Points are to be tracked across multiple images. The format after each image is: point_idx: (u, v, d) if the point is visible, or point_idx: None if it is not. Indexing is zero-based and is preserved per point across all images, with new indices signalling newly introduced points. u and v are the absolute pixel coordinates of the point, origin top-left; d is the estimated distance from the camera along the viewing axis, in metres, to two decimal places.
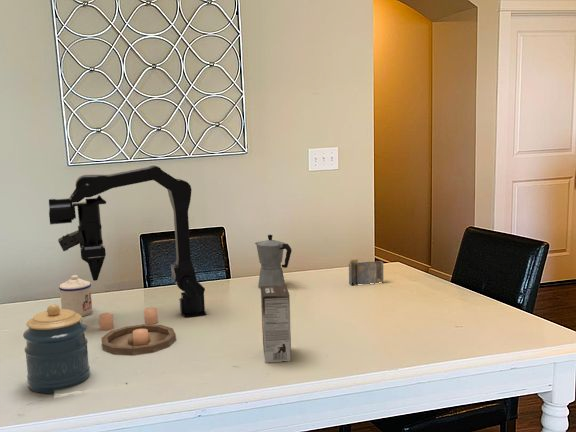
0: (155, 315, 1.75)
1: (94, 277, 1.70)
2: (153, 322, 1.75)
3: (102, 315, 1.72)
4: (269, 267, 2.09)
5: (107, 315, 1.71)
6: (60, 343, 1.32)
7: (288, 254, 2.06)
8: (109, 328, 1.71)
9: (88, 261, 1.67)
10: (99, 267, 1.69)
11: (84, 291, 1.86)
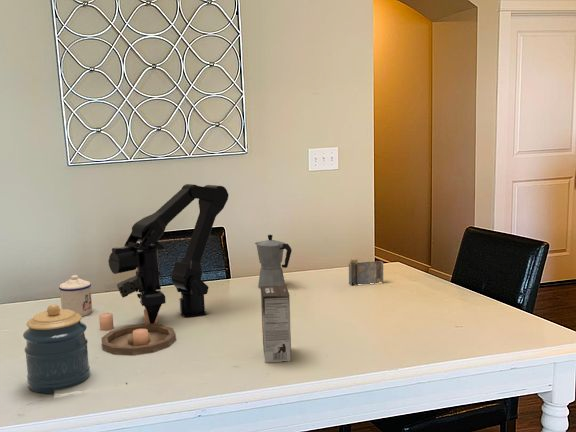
0: None
1: (151, 320, 1.74)
2: None
3: (102, 315, 1.72)
4: (269, 267, 2.09)
5: (107, 315, 1.71)
6: (60, 343, 1.32)
7: (288, 254, 2.06)
8: (109, 328, 1.71)
9: (146, 305, 1.71)
10: (156, 311, 1.73)
11: (84, 291, 1.86)
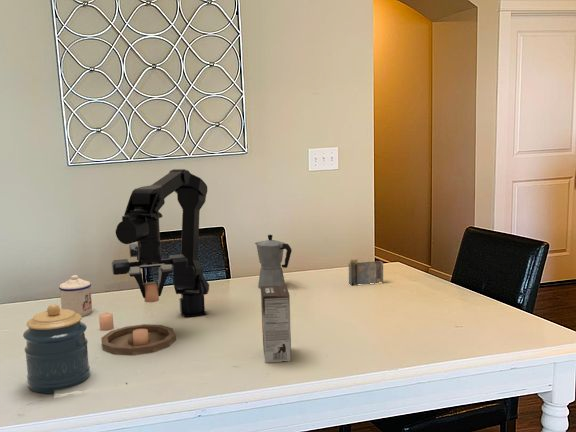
0: (146, 290, 1.62)
1: None
2: None
3: (102, 315, 1.72)
4: (269, 267, 2.09)
5: (107, 315, 1.71)
6: (60, 343, 1.32)
7: (288, 254, 2.06)
8: (109, 328, 1.71)
9: None
10: None
11: (84, 291, 1.86)
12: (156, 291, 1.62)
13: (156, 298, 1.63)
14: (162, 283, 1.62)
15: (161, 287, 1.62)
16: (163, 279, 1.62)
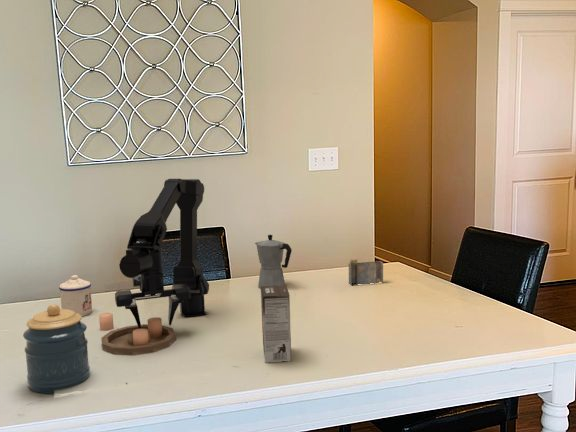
0: (149, 326, 1.63)
1: None
2: None
3: (102, 315, 1.72)
4: (269, 267, 2.09)
5: (107, 315, 1.71)
6: (60, 343, 1.32)
7: (288, 254, 2.06)
8: (109, 328, 1.71)
9: None
10: None
11: (84, 291, 1.86)
12: (160, 327, 1.63)
13: (160, 334, 1.64)
14: (172, 313, 1.63)
15: (171, 316, 1.64)
16: (173, 309, 1.63)
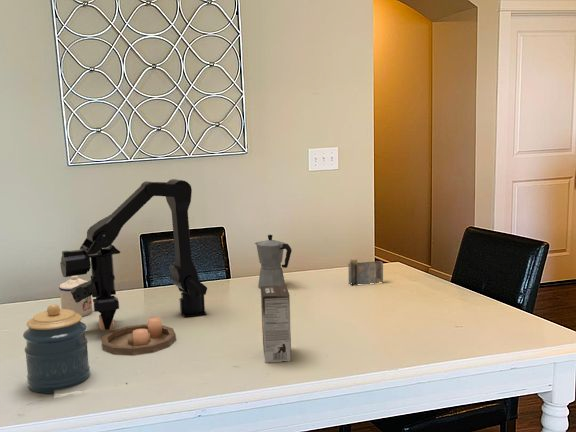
0: (149, 326, 1.63)
1: (106, 326, 1.70)
2: None
3: None
4: (269, 267, 2.09)
5: None
6: (60, 343, 1.32)
7: (288, 254, 2.06)
8: None
9: (100, 311, 1.67)
10: (111, 316, 1.69)
11: None
12: (159, 327, 1.63)
13: (160, 334, 1.64)
14: None
15: None
16: None
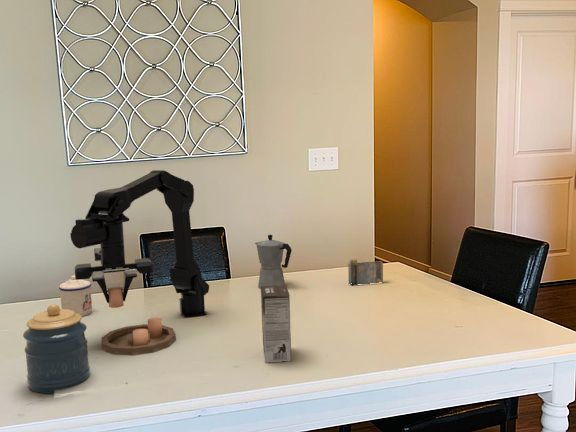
0: (149, 326, 1.63)
1: None
2: None
3: (115, 287, 1.61)
4: (269, 267, 2.09)
5: (113, 289, 1.59)
6: (60, 343, 1.32)
7: (288, 254, 2.06)
8: (109, 302, 1.59)
9: None
10: (102, 290, 1.57)
11: (84, 291, 1.86)
12: (160, 327, 1.63)
13: (160, 334, 1.64)
14: (126, 288, 1.59)
15: (125, 292, 1.59)
16: (127, 284, 1.58)
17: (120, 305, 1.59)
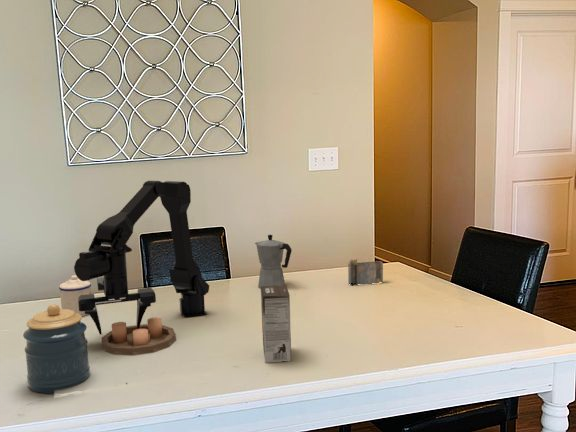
0: (149, 326, 1.63)
1: (98, 330, 1.60)
2: None
3: (118, 323, 1.62)
4: (269, 267, 2.09)
5: (116, 324, 1.60)
6: (60, 343, 1.32)
7: (288, 254, 2.06)
8: (113, 338, 1.60)
9: None
10: None
11: (84, 291, 1.86)
12: (159, 327, 1.63)
13: (160, 334, 1.64)
14: (140, 317, 1.61)
15: (139, 321, 1.61)
16: (141, 313, 1.60)
17: (124, 341, 1.60)
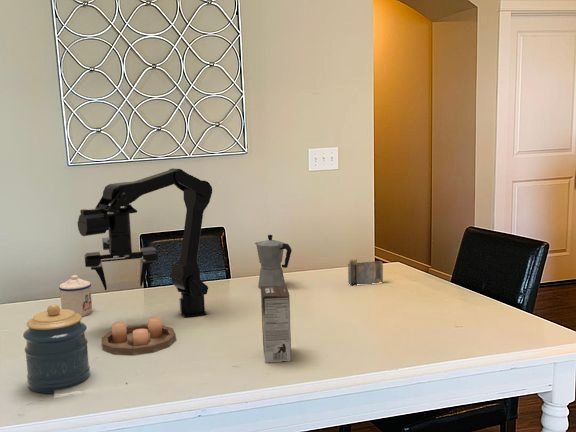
0: (149, 326, 1.63)
1: None
2: None
3: (118, 323, 1.62)
4: (269, 267, 2.09)
5: (116, 324, 1.60)
6: (60, 343, 1.32)
7: (288, 254, 2.06)
8: (113, 338, 1.60)
9: None
10: (100, 278, 1.67)
11: (84, 291, 1.86)
12: (159, 327, 1.63)
13: (160, 334, 1.64)
14: (143, 274, 1.70)
15: (142, 278, 1.70)
16: (144, 270, 1.69)
17: (124, 340, 1.60)
